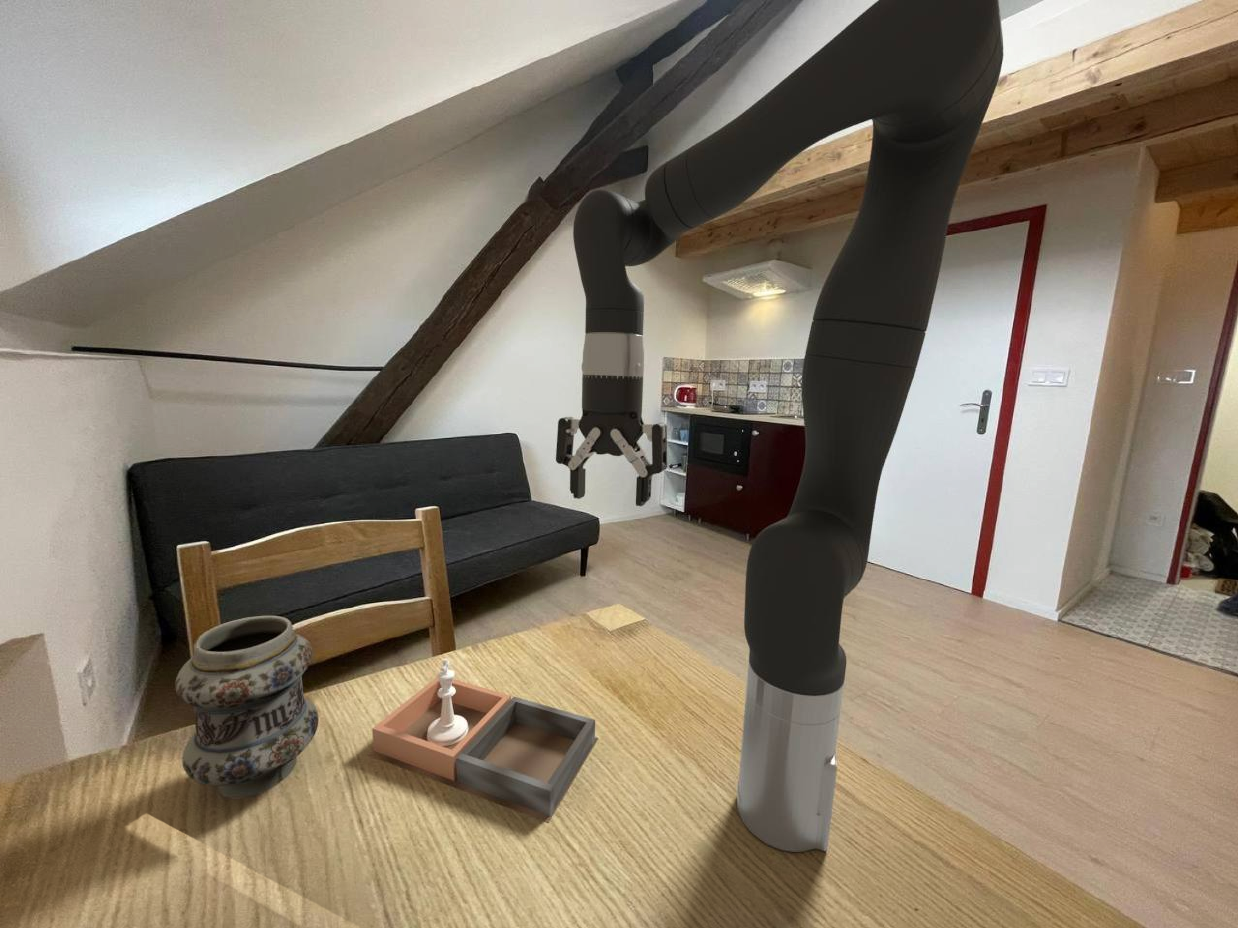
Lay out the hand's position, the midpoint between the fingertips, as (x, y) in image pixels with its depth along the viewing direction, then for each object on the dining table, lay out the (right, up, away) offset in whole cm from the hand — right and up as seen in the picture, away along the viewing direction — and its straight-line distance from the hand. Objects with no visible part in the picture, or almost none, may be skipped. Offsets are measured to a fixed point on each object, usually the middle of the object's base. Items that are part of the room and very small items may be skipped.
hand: (609, 501), depth 64 cm
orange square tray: (-20, -29, -1) cm, 35 cm away
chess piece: (-20, -29, -1) cm, 36 cm away
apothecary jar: (-39, -31, -8) cm, 51 cm away
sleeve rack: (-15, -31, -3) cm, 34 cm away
